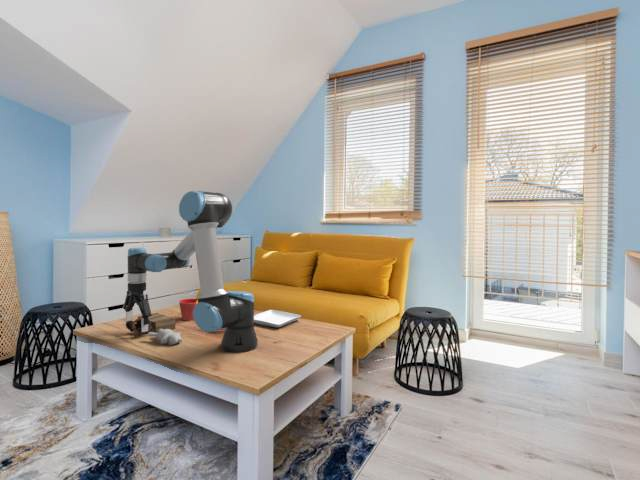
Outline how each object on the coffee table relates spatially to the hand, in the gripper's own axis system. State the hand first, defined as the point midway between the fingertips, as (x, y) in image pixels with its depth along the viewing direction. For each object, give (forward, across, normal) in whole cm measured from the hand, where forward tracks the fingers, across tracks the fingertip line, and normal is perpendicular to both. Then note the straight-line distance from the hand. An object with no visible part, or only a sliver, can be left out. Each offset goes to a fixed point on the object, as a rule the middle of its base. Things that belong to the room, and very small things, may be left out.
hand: (136, 328), depth 170 cm
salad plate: (+3, -33, -56) cm, 65 cm away
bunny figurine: (+3, -19, -3) cm, 20 cm away
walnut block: (+3, +3, -11) cm, 12 cm away
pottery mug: (+3, 0, -1) cm, 3 cm away
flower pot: (+3, +5, -31) cm, 31 cm away
